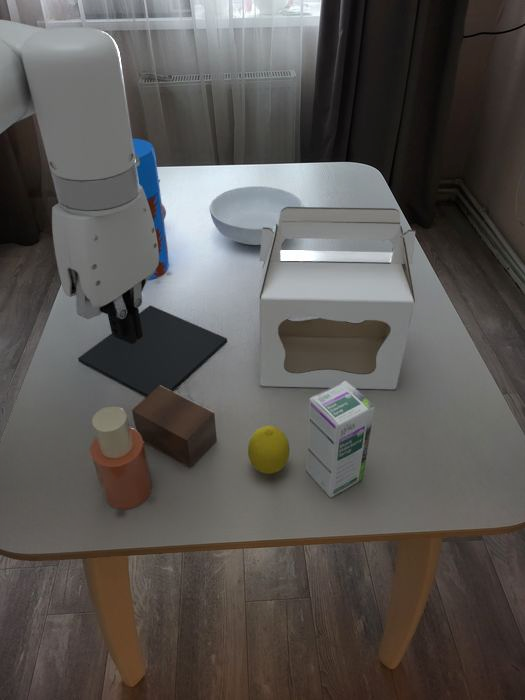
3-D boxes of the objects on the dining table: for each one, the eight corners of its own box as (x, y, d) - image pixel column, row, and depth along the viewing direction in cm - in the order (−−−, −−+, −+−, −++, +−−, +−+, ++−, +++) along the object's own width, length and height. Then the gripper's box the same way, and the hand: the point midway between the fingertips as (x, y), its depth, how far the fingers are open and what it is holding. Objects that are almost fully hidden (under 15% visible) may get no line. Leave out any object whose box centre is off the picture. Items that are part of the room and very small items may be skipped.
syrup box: (330, 499, 73) (340, 426, 64) (303, 469, 77) (309, 395, 68) (363, 479, 76) (377, 406, 66) (335, 451, 79) (345, 378, 70)
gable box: (258, 387, 89) (256, 230, 71) (261, 335, 99) (261, 186, 81) (397, 390, 89) (432, 233, 70) (386, 337, 99) (414, 188, 80)
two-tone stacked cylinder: (108, 496, 77) (39, 486, 64) (150, 418, 79) (91, 393, 66) (143, 518, 75) (78, 512, 62) (185, 437, 77) (131, 415, 64)
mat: (78, 361, 94) (77, 358, 94) (150, 308, 106) (150, 305, 105) (159, 403, 87) (158, 400, 86) (227, 341, 98) (227, 338, 97)
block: (137, 438, 81) (131, 410, 78) (164, 412, 85) (160, 384, 81) (191, 468, 77) (187, 440, 73) (217, 440, 81) (214, 412, 77)
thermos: (107, 266, 117) (82, 148, 100) (150, 248, 122) (133, 133, 106) (135, 288, 111) (113, 166, 94) (179, 268, 116) (165, 149, 100)
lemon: (276, 491, 74) (277, 453, 69) (241, 474, 76) (239, 436, 71) (295, 462, 78) (297, 424, 73) (260, 447, 80) (260, 409, 75)
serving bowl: (296, 261, 118) (298, 232, 114) (201, 252, 121) (198, 224, 116) (308, 215, 133) (309, 188, 129) (223, 209, 136) (221, 182, 132)
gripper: (123, 149, 58) (146, 294, 70) (3, 204, 48) (54, 362, 60) (180, 164, 55) (194, 314, 67) (64, 227, 45) (105, 388, 57)
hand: (128, 336), depth 63 cm, fingers closed
